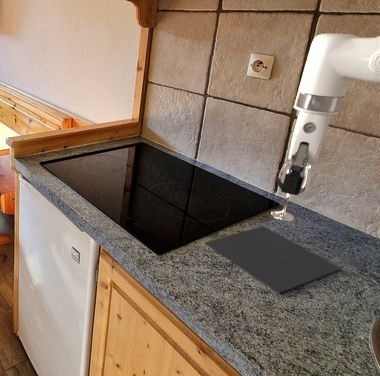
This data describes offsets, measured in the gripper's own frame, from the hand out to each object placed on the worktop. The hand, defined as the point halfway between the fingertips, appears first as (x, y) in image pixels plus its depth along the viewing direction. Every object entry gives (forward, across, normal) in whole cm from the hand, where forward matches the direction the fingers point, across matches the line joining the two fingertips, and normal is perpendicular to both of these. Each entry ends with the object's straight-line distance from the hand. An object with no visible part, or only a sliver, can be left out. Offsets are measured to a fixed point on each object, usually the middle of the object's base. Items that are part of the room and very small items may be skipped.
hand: (291, 187), depth 85 cm
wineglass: (+7, 0, 0) cm, 7 cm away
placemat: (+18, 0, 0) cm, 18 cm away
